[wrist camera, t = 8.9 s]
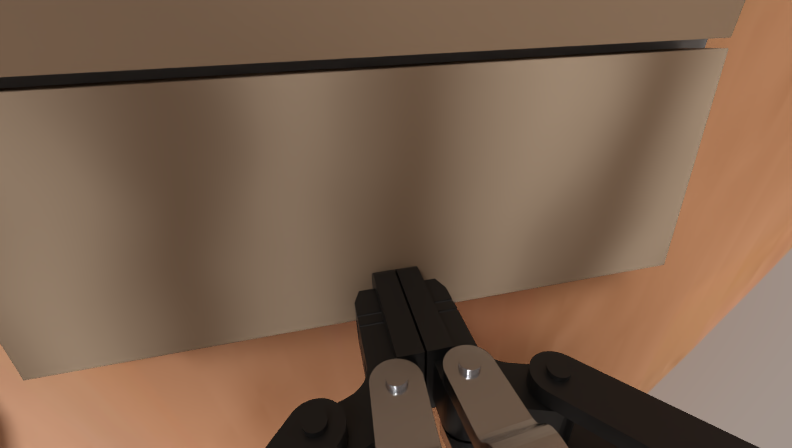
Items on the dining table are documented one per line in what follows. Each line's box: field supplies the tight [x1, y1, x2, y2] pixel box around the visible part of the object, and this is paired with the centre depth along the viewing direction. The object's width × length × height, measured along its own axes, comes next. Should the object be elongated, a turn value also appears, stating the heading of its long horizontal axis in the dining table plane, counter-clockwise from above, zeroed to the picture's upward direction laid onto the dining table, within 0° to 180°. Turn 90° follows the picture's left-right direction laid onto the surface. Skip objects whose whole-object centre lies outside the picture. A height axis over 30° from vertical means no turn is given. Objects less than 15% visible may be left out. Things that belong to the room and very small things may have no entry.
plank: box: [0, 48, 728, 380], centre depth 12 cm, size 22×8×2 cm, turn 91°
